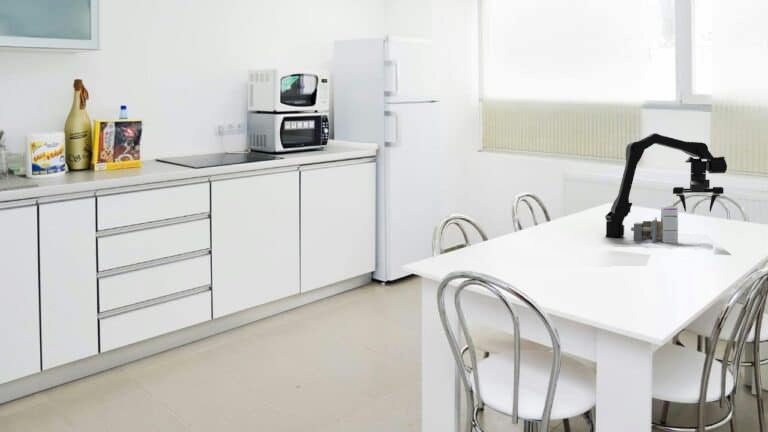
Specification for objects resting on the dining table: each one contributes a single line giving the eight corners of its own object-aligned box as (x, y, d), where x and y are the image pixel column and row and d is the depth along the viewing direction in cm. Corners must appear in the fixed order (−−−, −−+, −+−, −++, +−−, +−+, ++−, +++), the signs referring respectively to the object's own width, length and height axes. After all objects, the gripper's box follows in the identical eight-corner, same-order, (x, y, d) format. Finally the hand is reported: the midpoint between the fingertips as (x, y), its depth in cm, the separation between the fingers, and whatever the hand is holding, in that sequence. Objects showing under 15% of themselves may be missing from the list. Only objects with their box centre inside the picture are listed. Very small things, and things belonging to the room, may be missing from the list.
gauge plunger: (629, 240, 272) (630, 217, 272) (633, 238, 284) (633, 216, 283) (655, 241, 268) (655, 218, 268) (657, 239, 279) (657, 216, 279)
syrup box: (678, 243, 266) (678, 206, 266) (662, 242, 268) (662, 206, 267) (675, 241, 272) (676, 206, 271) (660, 241, 273) (660, 206, 273)
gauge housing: (633, 242, 272) (633, 222, 271) (636, 239, 282) (636, 220, 281) (661, 243, 267) (661, 222, 267) (663, 240, 277) (663, 221, 277)
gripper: (672, 173, 272) (671, 212, 273) (723, 173, 264) (723, 212, 264) (673, 173, 282) (673, 211, 283) (723, 173, 274) (722, 211, 274)
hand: (697, 211), depth 276 cm, fingers open, 9 cm apart
